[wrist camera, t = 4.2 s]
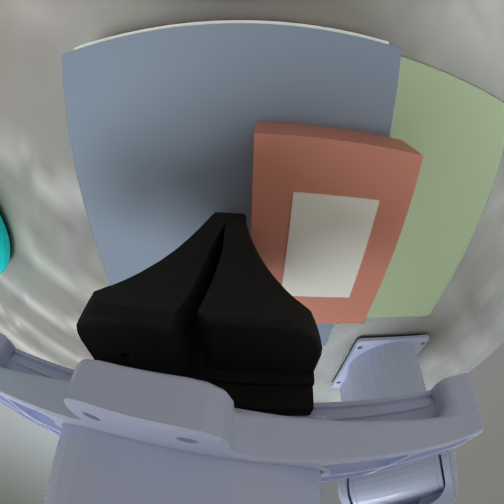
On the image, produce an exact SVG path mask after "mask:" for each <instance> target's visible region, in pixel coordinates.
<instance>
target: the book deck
mask: <svg viewBox="0 0 504 504" xmlns="http://www.w3.org/2000/svg"><path fill="white" fill-rule="evenodd" d="M401 52H402V49H401V48H398V47H395V46H392V45H389V42H388V41H384V40H381V39H377V38H374V37H370V36H366V35H362V34H357V33H353V32H348V31H344V30H338V29H333V28H327V27H321V26H314V25H307V24H299V23H289V22H277V21H257V20H224V21H204V22H192V23H182V24H174V25H166V26H160V27H153V28H148V29H142V30H137V31H133V32H128V33H124V34H119V35H115V36H111V37H108V38H104V39H100V40H97V41H94V42H90V43H87V44H84V45H81V46H78V47H75V48H74V51H71V52H68V53H65V54H63V55H62V68H63V84H64V96H65V106H66V114H67V122H68V129H69V135H70V142H71V147H72V153H73V158H74V163H75V168H76V173H77V177H78V182H79V186H80V190H81V194H82V198H83V202H84V206H85V209H86V213H87V217H88V220H89V224H90V227H91V230H92V234H93V237H94V240H95V243H96V246H97V249H98V252H99V255H100V258H101V261H102V264H103V267H104V269H105V272H106V275H107V278H108V280H109V283H110V285H113V284H116V283H119V282H121V281H123V280H125V279H127V278H130V277H132V276H134V275H136V274H138V273H140V272H142V271H143V270H145V269H147V268H148V267H150V266H152V265H154V264H155V263H157V262H159V261H160V260H162V259H163V258H165V257H166V256H168V255H169V254H170V253H172V252H173V251H174V250H176V249H177V248H178V247H179V246H181V245H182V244H183V243H184V242H185V241H186V240H187V239H189V238H190V237H191V236H192V235H193V234H194V233H195V232H196V231H197V230H198V229H199V228H200V227H201V226H202V225H203V224H204V223H205V222H206V221H207V220H208V219H209V218H210V217H211V216H212V215H213V214H214V213H215V212H222V213H243V214H245V215H246V222H247V227H248V230H249V233H250V236H251V221H252V188H253V156H254V132H255V127H256V121H259V122H278V123H292V124H303V125H313V126H322V127H330V128H338V129H345V130H352V131H358V132H364V133H370V134H375V135H381V136H386V137H390V133H391V127H392V122H393V116H394V110H395V103H396V97H397V90H398V82H399V74H400V65H401ZM334 324H335V323H316V325H317V327H318V331H319V334H320V338H321V343H322V346H325V345H326V343H327V340H328V338H329V336H330V333H331V331H332V329H333V326H334Z"/></svg>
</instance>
